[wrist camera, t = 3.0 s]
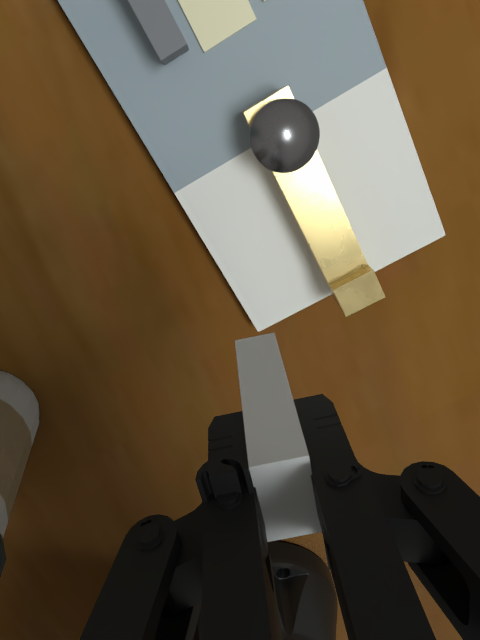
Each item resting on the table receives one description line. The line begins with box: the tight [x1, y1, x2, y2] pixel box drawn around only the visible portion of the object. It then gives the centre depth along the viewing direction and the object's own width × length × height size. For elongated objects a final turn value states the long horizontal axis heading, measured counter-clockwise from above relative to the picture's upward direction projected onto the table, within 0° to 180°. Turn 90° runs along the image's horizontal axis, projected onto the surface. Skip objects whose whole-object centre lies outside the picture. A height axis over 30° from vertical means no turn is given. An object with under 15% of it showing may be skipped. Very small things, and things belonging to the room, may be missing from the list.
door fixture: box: [58, 0, 445, 332], centre depth 26 cm, size 14×23×4 cm, turn 29°
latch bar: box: [241, 86, 385, 317], centre depth 27 cm, size 13×4×3 cm, turn 29°
